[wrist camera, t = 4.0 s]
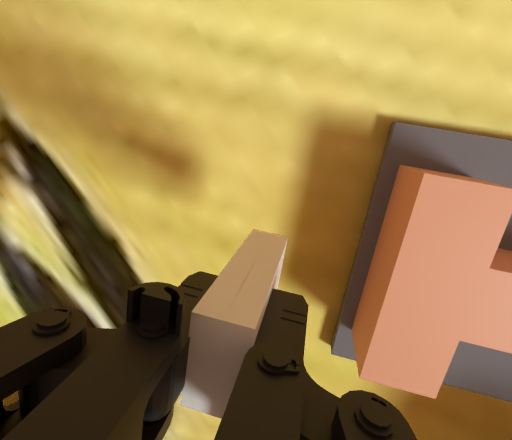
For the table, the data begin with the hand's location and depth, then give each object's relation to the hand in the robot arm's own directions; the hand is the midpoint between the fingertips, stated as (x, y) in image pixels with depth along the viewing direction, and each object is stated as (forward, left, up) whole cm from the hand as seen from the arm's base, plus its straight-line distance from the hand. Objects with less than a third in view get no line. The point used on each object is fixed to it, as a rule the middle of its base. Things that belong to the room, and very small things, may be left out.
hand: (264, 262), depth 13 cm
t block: (+11, 0, -5) cm, 12 cm away
